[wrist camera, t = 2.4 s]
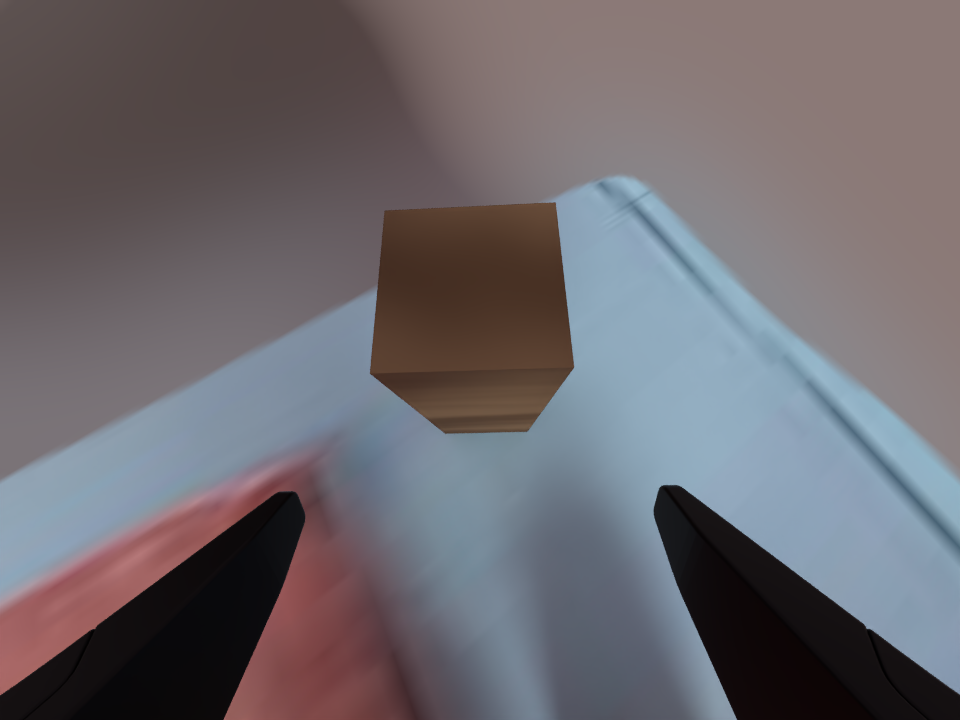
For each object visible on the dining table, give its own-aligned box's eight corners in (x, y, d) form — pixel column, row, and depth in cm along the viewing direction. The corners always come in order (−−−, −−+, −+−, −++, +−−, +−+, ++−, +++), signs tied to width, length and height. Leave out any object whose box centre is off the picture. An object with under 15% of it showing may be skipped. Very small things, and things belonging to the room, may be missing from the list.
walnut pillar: (527, 431, 20) (573, 367, 8) (445, 433, 21) (369, 373, 8) (522, 353, 22) (555, 202, 10) (446, 356, 22) (385, 210, 10)
